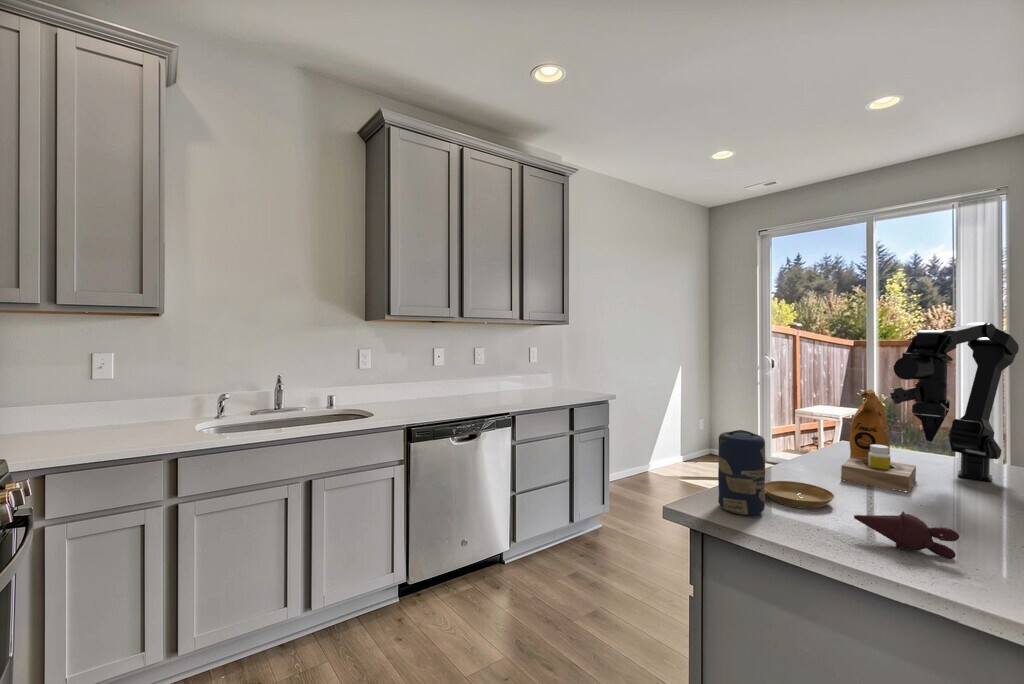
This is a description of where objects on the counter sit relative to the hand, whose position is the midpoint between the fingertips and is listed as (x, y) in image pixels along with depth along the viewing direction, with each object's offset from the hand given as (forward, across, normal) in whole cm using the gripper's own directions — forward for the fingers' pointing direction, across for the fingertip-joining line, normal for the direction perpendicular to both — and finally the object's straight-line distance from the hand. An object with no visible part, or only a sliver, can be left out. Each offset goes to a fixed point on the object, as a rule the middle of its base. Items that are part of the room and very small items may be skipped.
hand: (930, 438), depth 126 cm
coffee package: (+12, -12, -15) cm, 23 cm away
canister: (+12, +54, -28) cm, 62 cm away
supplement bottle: (+11, +6, -10) cm, 16 cm away
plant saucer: (+12, +38, -21) cm, 45 cm away
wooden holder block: (+12, +6, -10) cm, 17 cm away
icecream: (+12, +52, 0) cm, 54 cm away
